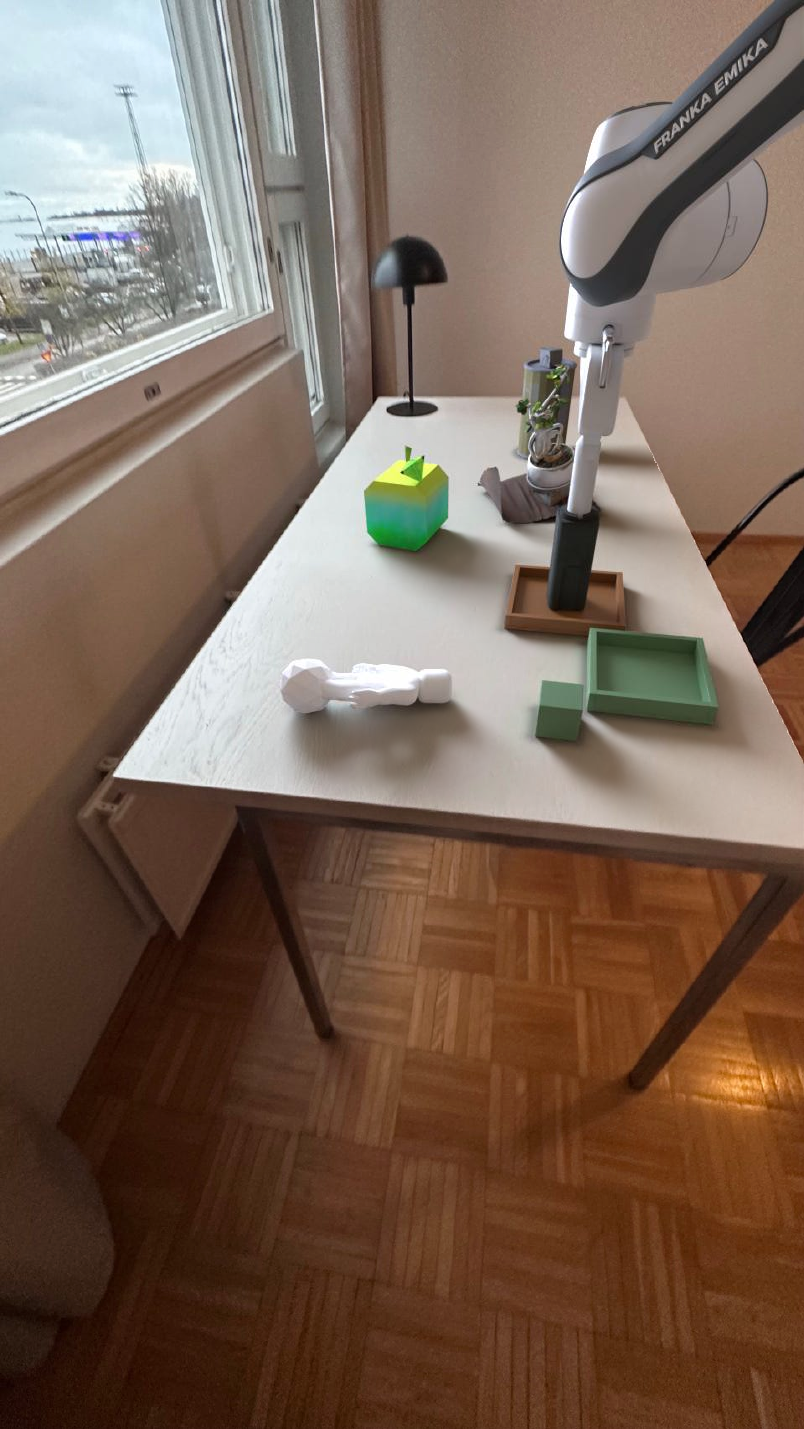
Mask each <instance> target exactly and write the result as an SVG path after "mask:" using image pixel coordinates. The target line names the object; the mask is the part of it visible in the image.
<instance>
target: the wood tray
mask: <svg viewBox="0 0 804 1429" xmlns="http://www.w3.org/2000/svg"><path fill="white" fill-rule="evenodd" d="M549 571H550V566H544V565H543V566H542V565H530V564H529V565H528V564H527V565H526V564H515V565H514V569H513V573H512V580H511V585H510V589H509V595H508V599H507V605H506V611H505V616H504V626H503V627H504V629H506V630H517V631H529V632H540V633H550V634H561V635H572V636H581V637H582V636H584V637H589V632H590V628H596V629H597V628H598V629H609V630H621V631H626V628H627V619H626V618H627V617H626V606H625V604H626V603H625V592H624V591H625V590H624V576H623V575H624V574H623V572H622V571H612V570H611V571H609V570H597V569H591V575H590V581H589V587H588V592H587V598H586V604H585V608H584V609H583V610H580V611H576V610H552V609H550V608H549V607H548V603H547V596H546V595H547V587H548V579H549Z"/></svg>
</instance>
